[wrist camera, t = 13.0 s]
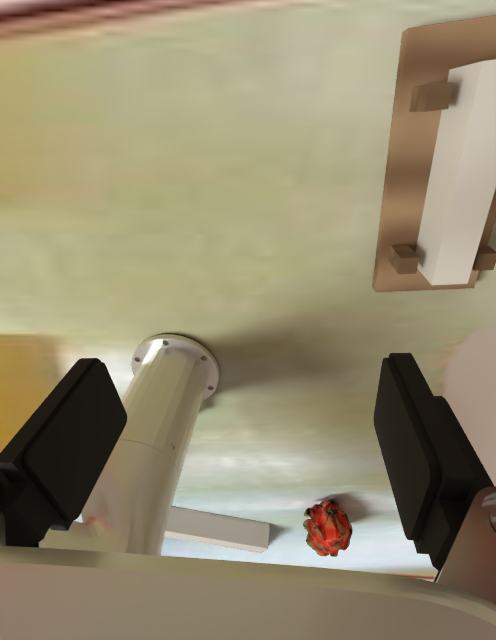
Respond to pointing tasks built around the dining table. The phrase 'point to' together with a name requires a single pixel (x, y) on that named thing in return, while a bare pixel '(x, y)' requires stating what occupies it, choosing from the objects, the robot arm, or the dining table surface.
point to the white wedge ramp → (217, 530)
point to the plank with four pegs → (424, 146)
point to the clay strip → (460, 177)
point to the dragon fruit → (327, 528)
